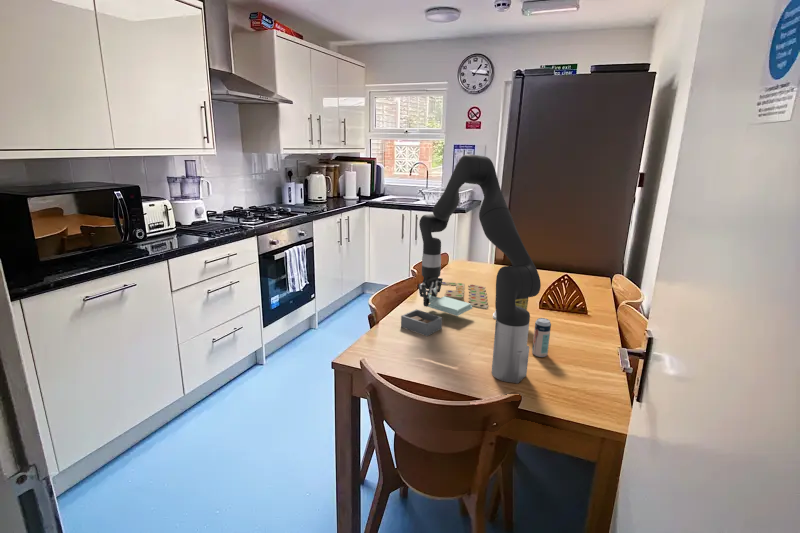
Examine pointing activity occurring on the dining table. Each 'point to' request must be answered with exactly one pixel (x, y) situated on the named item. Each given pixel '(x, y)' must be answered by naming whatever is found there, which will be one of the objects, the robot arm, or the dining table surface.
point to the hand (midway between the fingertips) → (429, 304)
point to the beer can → (541, 337)
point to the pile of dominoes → (475, 297)
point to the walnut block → (417, 318)
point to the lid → (448, 305)
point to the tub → (421, 326)
